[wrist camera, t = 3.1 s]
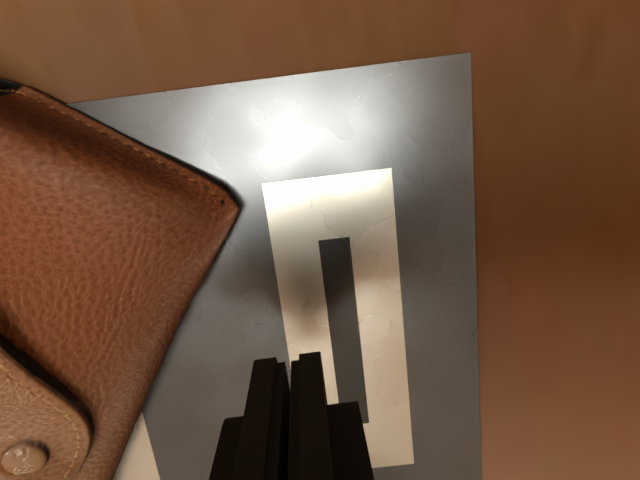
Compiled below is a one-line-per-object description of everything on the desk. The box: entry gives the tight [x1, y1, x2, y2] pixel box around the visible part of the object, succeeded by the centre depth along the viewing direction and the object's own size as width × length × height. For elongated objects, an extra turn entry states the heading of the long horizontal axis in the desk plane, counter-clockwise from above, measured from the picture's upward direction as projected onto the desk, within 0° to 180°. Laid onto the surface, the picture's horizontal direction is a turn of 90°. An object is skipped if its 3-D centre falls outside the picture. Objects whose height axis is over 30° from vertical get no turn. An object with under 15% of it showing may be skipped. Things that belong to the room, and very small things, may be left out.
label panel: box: [66, 52, 482, 480], centre depth 15 cm, size 20×17×1 cm
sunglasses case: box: [0, 78, 239, 480], centre depth 13 cm, size 18×7×7 cm
